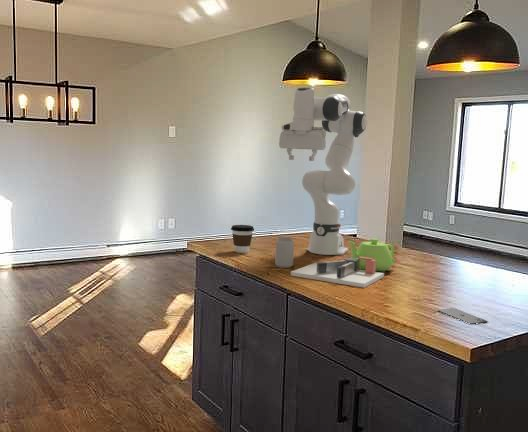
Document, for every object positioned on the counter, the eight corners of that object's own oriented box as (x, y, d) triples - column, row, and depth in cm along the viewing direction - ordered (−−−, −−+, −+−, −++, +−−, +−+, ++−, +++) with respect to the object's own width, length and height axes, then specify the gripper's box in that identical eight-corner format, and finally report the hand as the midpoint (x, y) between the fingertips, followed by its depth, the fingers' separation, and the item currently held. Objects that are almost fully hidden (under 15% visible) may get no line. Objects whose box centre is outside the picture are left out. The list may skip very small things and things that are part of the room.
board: (314, 266, 238) (315, 262, 238) (383, 276, 223) (384, 273, 223) (290, 275, 219) (290, 271, 219) (364, 287, 204) (364, 283, 204)
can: (291, 269, 231) (292, 240, 230) (273, 267, 233) (274, 238, 231) (294, 265, 238) (295, 237, 237) (276, 264, 240) (277, 236, 238)
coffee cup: (258, 252, 263) (258, 227, 262) (238, 254, 257) (238, 228, 256) (245, 248, 272) (246, 224, 271) (225, 250, 266) (226, 225, 265)
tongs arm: (344, 269, 226) (345, 260, 225) (347, 270, 224) (347, 260, 224) (316, 272, 218) (317, 262, 218) (318, 273, 217) (319, 263, 217)
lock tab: (359, 270, 226) (360, 256, 225) (375, 272, 223) (376, 258, 222) (357, 271, 224) (357, 257, 223) (372, 273, 220) (373, 259, 220)
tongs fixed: (348, 268, 229) (348, 257, 228) (359, 270, 226) (359, 258, 226) (329, 276, 213) (330, 264, 212) (341, 278, 210) (342, 266, 210)
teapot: (353, 274, 225) (355, 242, 224) (338, 266, 240) (340, 236, 238) (402, 273, 231) (404, 241, 230) (385, 265, 246) (387, 235, 244)
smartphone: (453, 307, 181) (489, 321, 168) (453, 309, 182) (489, 323, 168) (435, 309, 178) (471, 323, 165) (435, 311, 178) (470, 326, 165)
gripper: (329, 127, 232) (327, 161, 233) (285, 126, 242) (283, 159, 243) (322, 126, 226) (320, 161, 228) (278, 125, 237) (276, 159, 238)
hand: (301, 160), depth 236 cm, fingers open, 8 cm apart
